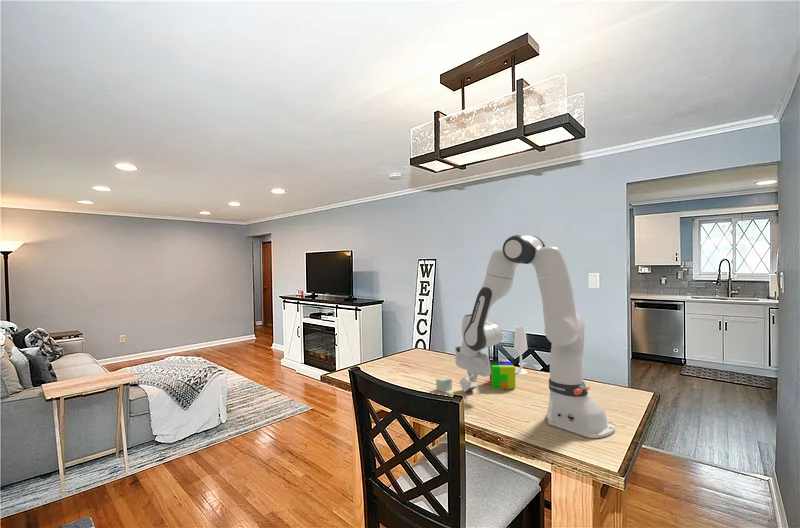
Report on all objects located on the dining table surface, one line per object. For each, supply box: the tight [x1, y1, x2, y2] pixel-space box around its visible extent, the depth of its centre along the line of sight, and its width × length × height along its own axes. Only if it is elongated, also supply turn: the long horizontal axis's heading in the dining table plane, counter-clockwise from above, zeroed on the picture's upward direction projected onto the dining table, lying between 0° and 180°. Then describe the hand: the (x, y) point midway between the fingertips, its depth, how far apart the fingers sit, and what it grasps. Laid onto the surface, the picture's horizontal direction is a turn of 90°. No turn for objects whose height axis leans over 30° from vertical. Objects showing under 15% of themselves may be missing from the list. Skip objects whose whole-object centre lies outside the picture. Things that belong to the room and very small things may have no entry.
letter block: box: [459, 375, 479, 393], centre depth 165 cm, size 5×5×5 cm
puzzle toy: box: [489, 360, 516, 390], centre depth 172 cm, size 10×10×10 cm
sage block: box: [435, 376, 453, 393], centre depth 167 cm, size 5×5×5 cm
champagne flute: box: [513, 325, 528, 375], centre depth 192 cm, size 7×7×24 cm
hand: (472, 381), depth 162 cm, fingers closed
